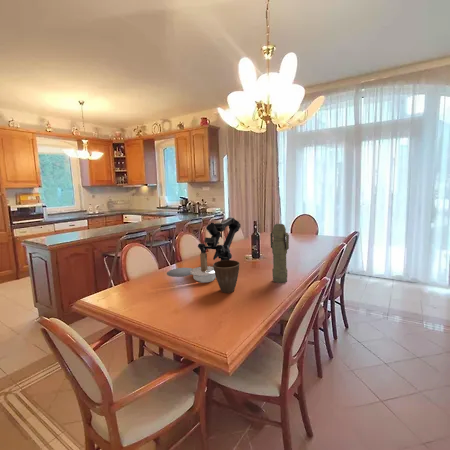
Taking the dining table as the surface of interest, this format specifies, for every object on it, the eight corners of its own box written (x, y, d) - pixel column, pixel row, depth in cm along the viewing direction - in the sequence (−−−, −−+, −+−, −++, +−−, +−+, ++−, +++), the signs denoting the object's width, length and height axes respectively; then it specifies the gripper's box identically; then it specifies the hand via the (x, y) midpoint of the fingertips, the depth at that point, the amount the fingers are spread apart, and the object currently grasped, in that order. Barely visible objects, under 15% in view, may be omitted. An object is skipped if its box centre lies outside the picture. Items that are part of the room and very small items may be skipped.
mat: (197, 268, 207) (197, 267, 206) (193, 278, 187) (193, 276, 187) (170, 269, 208) (170, 268, 207) (163, 279, 188) (163, 277, 188)
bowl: (216, 275, 191) (216, 268, 190) (214, 282, 177) (214, 274, 176) (195, 275, 191) (195, 268, 191) (192, 283, 178) (191, 275, 177)
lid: (200, 266, 195) (199, 249, 194) (223, 268, 187) (222, 251, 185) (184, 274, 180) (183, 255, 178) (209, 277, 171) (208, 258, 170)
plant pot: (232, 297, 153) (230, 269, 150) (209, 293, 161) (207, 265, 158) (245, 288, 165) (244, 261, 163) (223, 284, 173) (222, 258, 171)
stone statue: (286, 284, 168) (285, 226, 163) (268, 281, 175) (267, 224, 170) (292, 279, 176) (291, 223, 170) (274, 276, 182) (273, 222, 177)
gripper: (198, 231, 193) (190, 251, 185) (222, 233, 184) (215, 253, 176) (205, 240, 201) (197, 260, 193) (228, 242, 192) (221, 262, 184)
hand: (207, 259), depth 186 cm, fingers open, 9 cm apart
